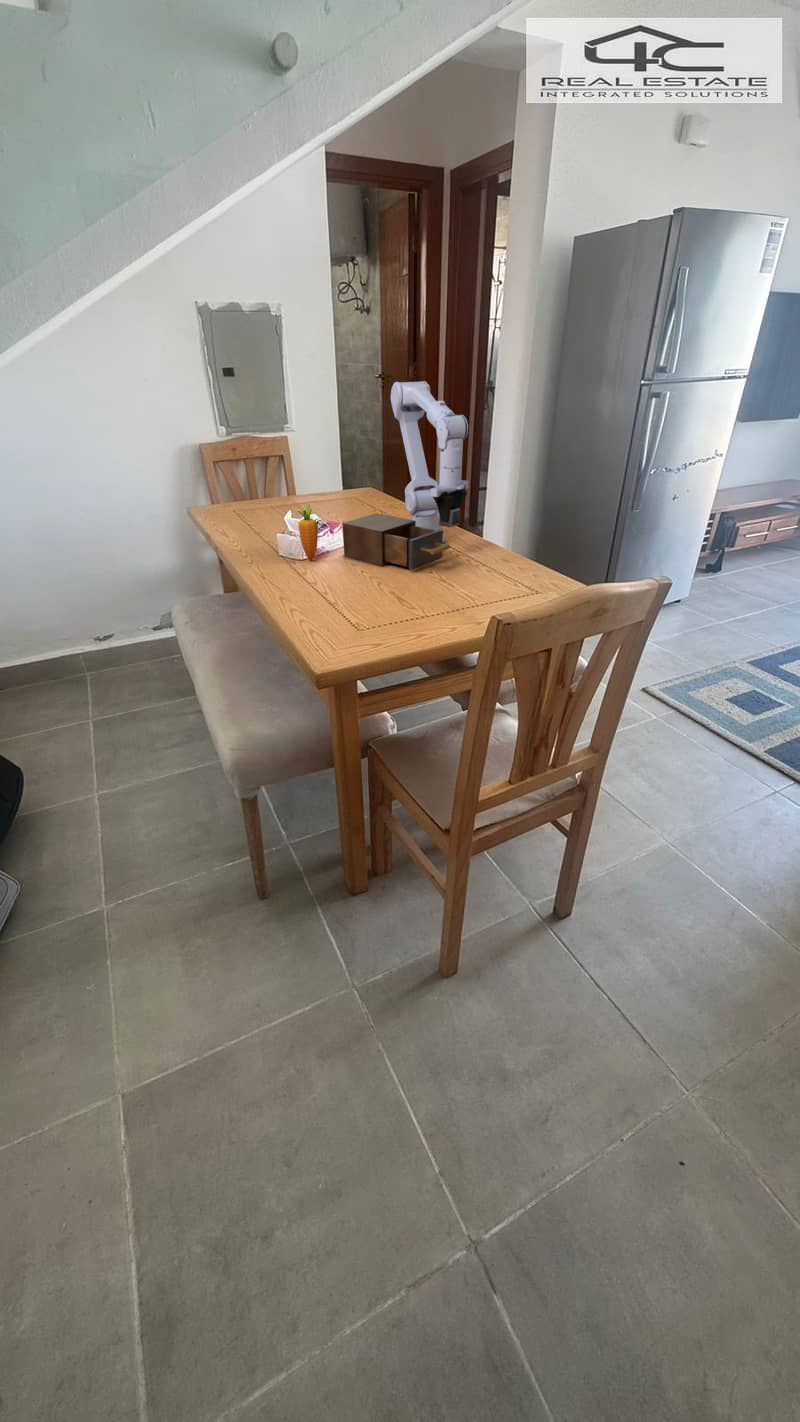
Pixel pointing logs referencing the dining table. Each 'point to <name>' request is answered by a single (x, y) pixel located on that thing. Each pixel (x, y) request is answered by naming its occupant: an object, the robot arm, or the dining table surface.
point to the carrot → (308, 533)
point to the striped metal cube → (451, 518)
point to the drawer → (413, 546)
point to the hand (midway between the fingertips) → (449, 520)
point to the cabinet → (370, 536)
